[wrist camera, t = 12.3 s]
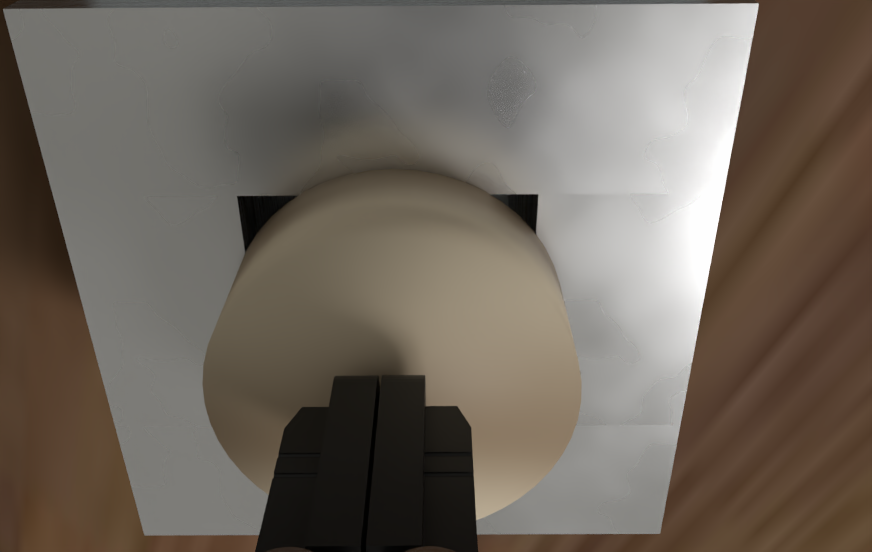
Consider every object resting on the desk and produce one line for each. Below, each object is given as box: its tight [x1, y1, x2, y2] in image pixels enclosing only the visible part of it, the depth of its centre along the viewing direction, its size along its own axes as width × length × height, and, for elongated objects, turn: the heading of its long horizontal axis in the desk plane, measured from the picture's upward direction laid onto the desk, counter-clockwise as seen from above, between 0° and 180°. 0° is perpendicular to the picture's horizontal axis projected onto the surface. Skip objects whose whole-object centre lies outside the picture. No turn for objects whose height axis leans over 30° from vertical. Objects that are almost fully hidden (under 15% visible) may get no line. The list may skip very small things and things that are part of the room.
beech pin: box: [202, 169, 582, 520], centre depth 18 cm, size 6×6×8 cm
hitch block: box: [3, 0, 759, 535], centre depth 19 cm, size 18×14×7 cm
